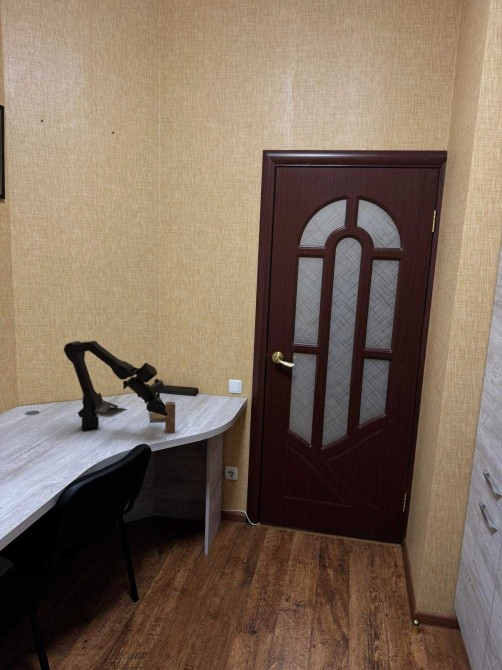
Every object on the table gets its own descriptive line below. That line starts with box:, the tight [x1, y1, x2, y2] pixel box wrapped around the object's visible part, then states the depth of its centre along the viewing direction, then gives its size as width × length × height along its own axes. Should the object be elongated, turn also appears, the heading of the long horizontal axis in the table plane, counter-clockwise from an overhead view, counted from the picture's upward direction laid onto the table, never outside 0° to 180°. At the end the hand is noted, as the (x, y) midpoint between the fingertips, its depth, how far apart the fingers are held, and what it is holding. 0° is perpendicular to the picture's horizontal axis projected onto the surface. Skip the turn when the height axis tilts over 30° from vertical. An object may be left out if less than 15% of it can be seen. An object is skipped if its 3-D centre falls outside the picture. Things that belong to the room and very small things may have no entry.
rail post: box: [164, 401, 176, 434], centre depth 199 cm, size 4×4×13 cm
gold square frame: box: [149, 409, 165, 423], centre depth 216 cm, size 11×11×4 cm
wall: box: [99, 399, 126, 414], centre depth 222 cm, size 16×9×15 cm
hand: (166, 411), depth 199 cm, fingers open, 9 cm apart
